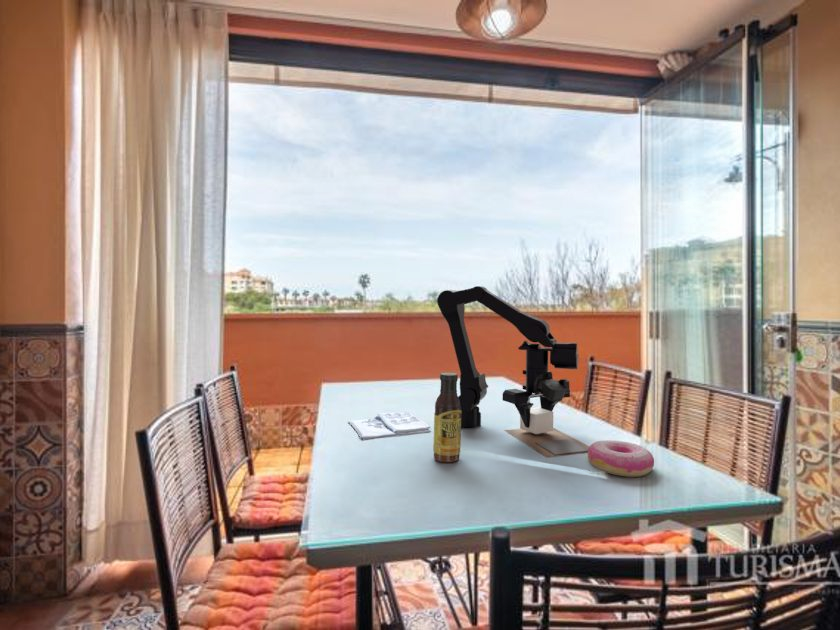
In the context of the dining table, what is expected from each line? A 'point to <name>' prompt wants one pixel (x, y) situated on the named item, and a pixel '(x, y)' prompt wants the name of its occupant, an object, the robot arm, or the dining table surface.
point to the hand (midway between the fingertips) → (536, 425)
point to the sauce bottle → (447, 420)
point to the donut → (621, 458)
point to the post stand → (550, 442)
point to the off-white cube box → (539, 421)
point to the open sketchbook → (389, 425)
